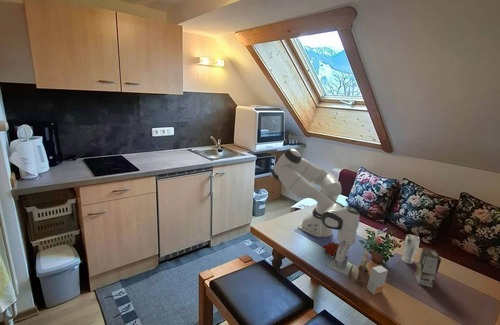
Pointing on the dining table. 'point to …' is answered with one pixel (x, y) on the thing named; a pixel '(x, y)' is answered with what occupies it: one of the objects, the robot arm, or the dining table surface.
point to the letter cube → (342, 263)
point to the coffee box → (427, 267)
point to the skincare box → (377, 279)
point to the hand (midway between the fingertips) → (341, 260)
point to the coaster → (344, 271)
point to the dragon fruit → (331, 249)
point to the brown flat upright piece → (362, 269)
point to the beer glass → (410, 248)
